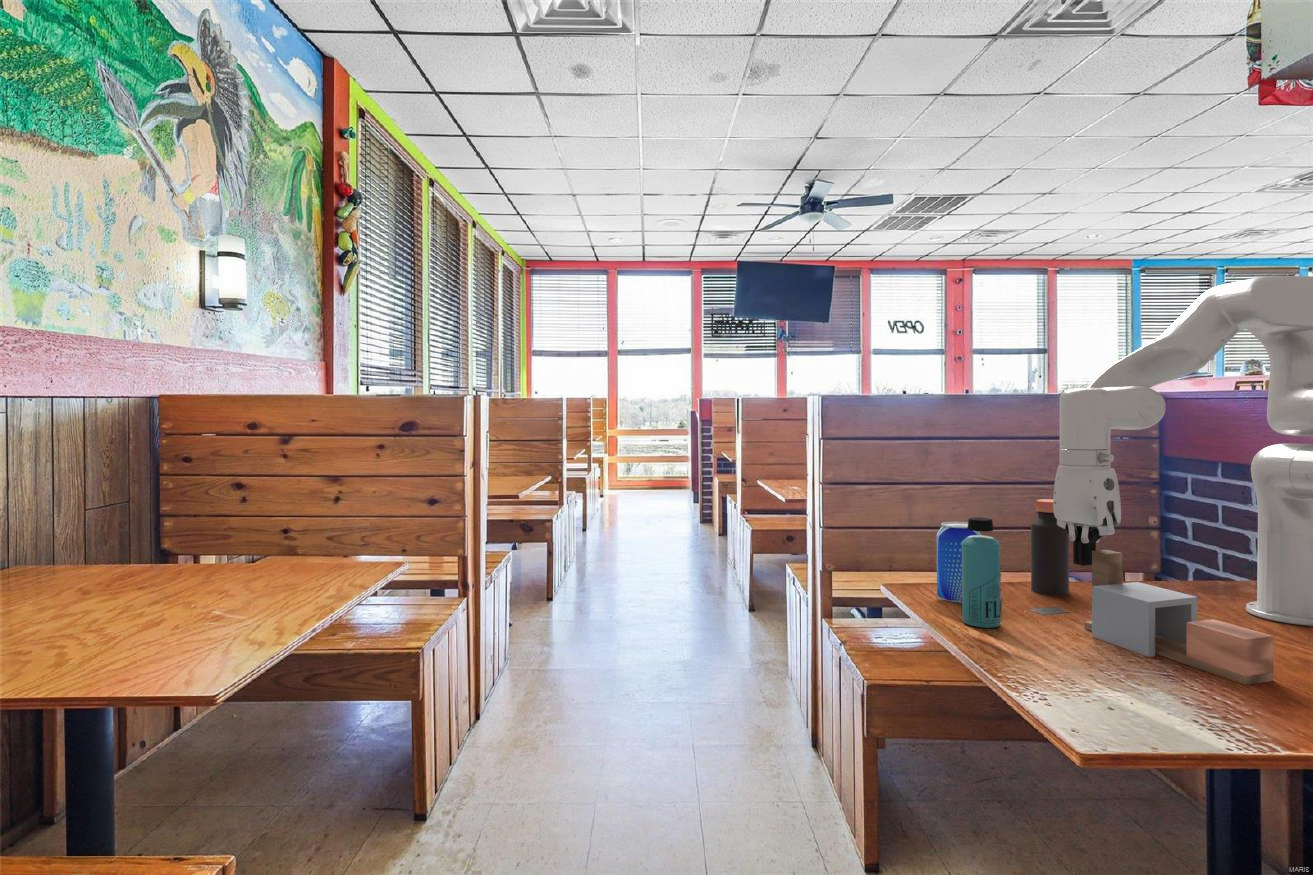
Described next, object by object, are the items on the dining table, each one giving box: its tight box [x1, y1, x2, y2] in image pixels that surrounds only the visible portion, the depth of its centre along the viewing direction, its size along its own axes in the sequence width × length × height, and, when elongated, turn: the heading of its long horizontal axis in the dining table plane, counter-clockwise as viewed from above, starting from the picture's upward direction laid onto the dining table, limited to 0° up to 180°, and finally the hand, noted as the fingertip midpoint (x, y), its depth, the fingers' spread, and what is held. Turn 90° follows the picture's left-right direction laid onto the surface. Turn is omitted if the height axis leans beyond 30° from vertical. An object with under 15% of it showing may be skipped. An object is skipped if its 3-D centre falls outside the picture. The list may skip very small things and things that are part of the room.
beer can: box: [936, 521, 983, 603], centre depth 138 cm, size 8×8×16 cm
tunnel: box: [1091, 581, 1199, 658], centre depth 109 cm, size 9×10×8 cm
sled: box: [1084, 549, 1275, 686], centre depth 105 cm, size 5×26×13 cm, turn 14°
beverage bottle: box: [960, 516, 1003, 629], centre depth 120 cm, size 6×7×20 cm
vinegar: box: [1030, 498, 1070, 597], centre depth 141 cm, size 7×7×20 cm
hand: (1084, 564), depth 119 cm, fingers closed
